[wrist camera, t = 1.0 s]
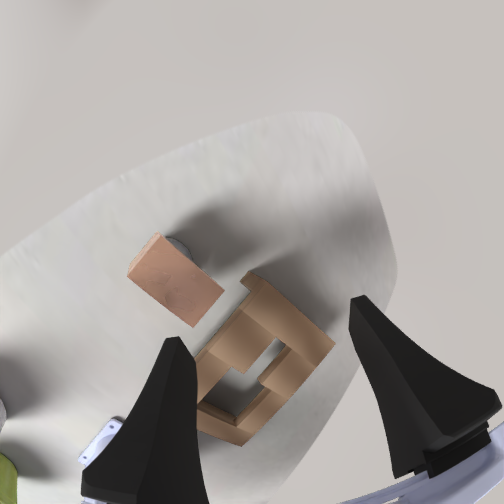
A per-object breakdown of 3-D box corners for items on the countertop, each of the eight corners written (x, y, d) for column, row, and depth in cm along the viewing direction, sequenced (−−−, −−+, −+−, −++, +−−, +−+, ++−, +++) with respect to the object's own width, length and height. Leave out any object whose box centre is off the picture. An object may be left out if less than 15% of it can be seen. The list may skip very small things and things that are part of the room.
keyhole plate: (228, 423, 27) (241, 446, 23) (152, 384, 23) (155, 409, 19) (313, 328, 29) (335, 343, 25) (248, 271, 25) (267, 281, 21)
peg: (173, 299, 23) (187, 333, 16) (127, 261, 21) (121, 283, 15) (204, 263, 24) (230, 284, 17) (159, 223, 22) (166, 228, 15)
